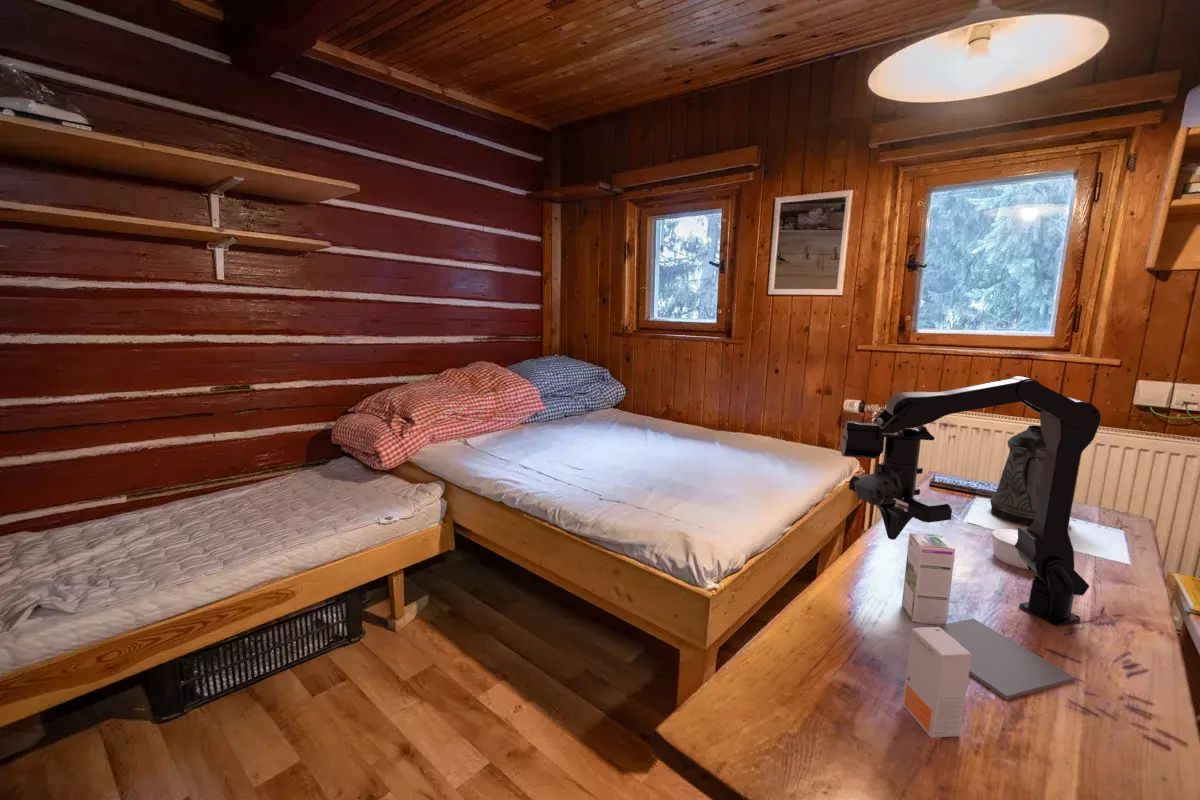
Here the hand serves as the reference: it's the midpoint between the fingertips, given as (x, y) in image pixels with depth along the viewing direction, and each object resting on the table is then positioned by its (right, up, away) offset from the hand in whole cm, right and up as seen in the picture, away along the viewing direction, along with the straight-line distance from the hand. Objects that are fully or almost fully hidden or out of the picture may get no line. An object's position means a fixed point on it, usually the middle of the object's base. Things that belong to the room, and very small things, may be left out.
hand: (891, 538), depth 103 cm
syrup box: (+2, -12, -6) cm, 14 cm away
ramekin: (+37, -9, +16) cm, 42 cm away
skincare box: (-12, -17, -31) cm, 37 cm away
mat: (+6, -14, -17) cm, 23 cm away
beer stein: (+58, -5, +40) cm, 71 cm away
